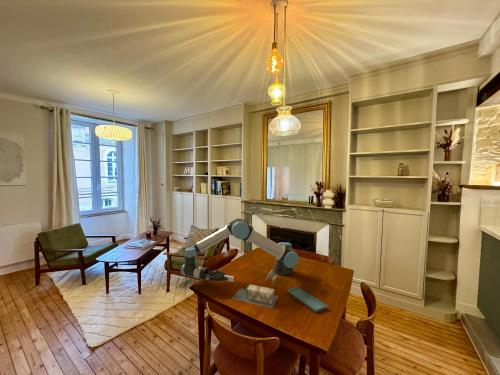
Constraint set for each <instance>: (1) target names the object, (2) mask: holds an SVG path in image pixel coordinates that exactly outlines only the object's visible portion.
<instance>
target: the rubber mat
mask: <svg viewBox="0 0 500 375" xmlns="http://www.w3.org/2000/svg"><path fill="white" fill-rule="evenodd" d="M278 299H279V295H275V294H274V299H273V301H272V303H271V304H270V303H265V302H261V301H257V300H252V299H248V298H246V288H239V289H238V290H237V292H236V293H235V294H234V295H233V296H232V297H231V300H235V301H238V302H239V301H240V302H245V303H248V304H253V305H257V306H261V307H266V308H270V309H272V310H273V309H274V307H275V304H276V302H277V300H278Z"/></svg>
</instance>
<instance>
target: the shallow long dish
mask: <svg viewBox="0 0 500 375" xmlns="http://www.w3.org/2000/svg"><path fill="white" fill-rule="evenodd" d="M286 292H287V293H288V294H290V295H291V296H293V297H294V298H295V299H296V300H297V301H299V302H300V303H302V304H303V305H305V306H306V307H308V308H309V309H310V310H312V311H313V312H315V313H317V312H321V311H323V310H325V309H327V307H328V305H327V304H325V303H324V302H322V301H321V300H319V299H317V298H316V297H314V296H313V295H311V294H309V293H308V292H306V291H305V290H303V289H302V288H300V287H298V286H294V287H292V288H289V289H287V290H286Z"/></svg>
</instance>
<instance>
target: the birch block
mask: <svg viewBox="0 0 500 375" xmlns="http://www.w3.org/2000/svg"><path fill="white" fill-rule="evenodd" d="M245 289H246V298H248V299H252V300H257V301H261V302H265V303H270V304H271V303H272V301H273V299H274V295H275V289H274V288H271V287H266V286H260V285H255V284H248V286H247V287H246V288H245Z"/></svg>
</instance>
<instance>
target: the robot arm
mask: <svg viewBox="0 0 500 375" xmlns="http://www.w3.org/2000/svg"><path fill="white" fill-rule="evenodd" d="M229 236H233V237H234V238H235V239H238V240H242V241H243V242H250V243H251V244H253V245H255V246H256V247H258V248H260V249H261V250H263V251H265V252H267V253H269V254H270V255H272V256H274V257H275V261H276V262H275V264H274V267H273V272H274V273H275V274H276V273H277V275H279V276H290V275H292V274H294V267H296V266H297V265H298V263H299V255H298V253H297V251H295V250H293V247H292V243H290V242H283V241H282V242H278V243H277V242H275V241H274V240H271V239H270V238H268V237H266V236H264V235H263V234H261V233H260V232H259V231H256V230H255V228H254V227H253V226H252V225H250V224H249V223H247V222H246V221H245V220H244V219H243V218H236V219H234V220H232V221H230V222H229V223H227V224H226V225H225V227H223V228H220V229H219V230H217V231H215V232H214V233H211V234H209V235H208V236H206V237H204V238H203V239H201V240H199V241H197V242H195V243H191V244H190V245H189V246H188V247H187V248H185V249H184V264H183V265H182V266H181V269H180V274H181V275H182V276H186V277H191V278H195V279H200V280H205V281H215V282H221V281H222V282H224V281H228V282H231V283H232V282H234V281H235V278H234V276H233V275H227V274H226V272H223V271H220V270H218V269H214V270H210V269H209V267H203V266H199V265H196V262H197V255H198V254H199V253H201V252H203V251H205V250H206V249H208V248H210V247H212V246H214V245H216V244H217V243H219V242H221V241H222V240H225V239H227V238H228V237H229Z"/></svg>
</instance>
